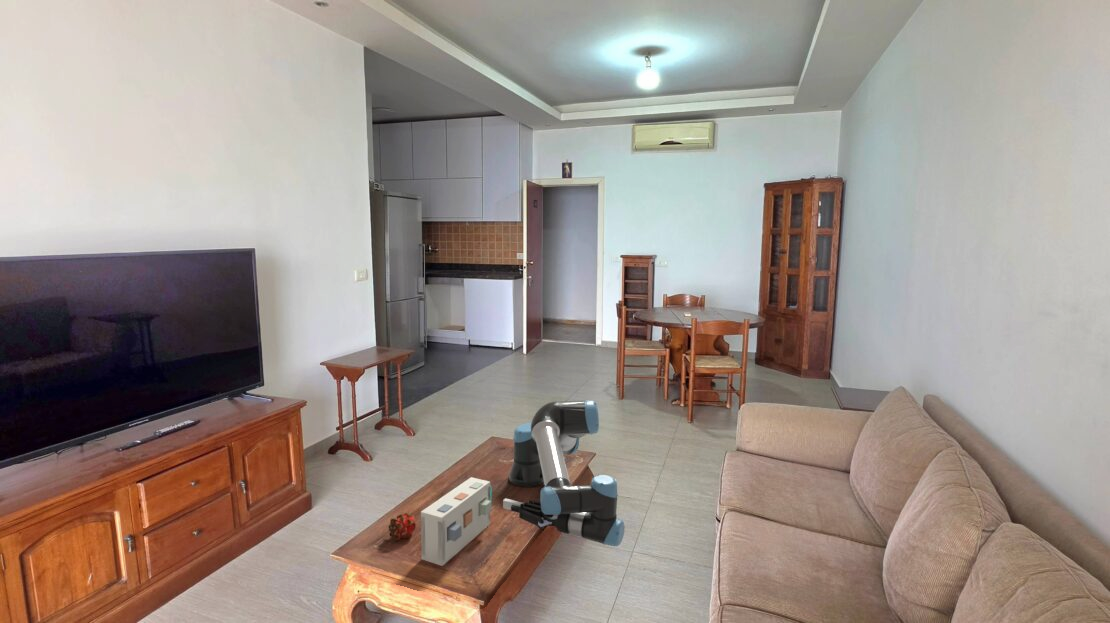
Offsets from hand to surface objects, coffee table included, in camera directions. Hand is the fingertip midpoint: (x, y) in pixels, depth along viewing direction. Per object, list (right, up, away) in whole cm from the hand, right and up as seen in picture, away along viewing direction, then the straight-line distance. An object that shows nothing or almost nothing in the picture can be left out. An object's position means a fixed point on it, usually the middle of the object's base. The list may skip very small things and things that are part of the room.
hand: (504, 503), depth 175 cm
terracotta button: (-15, -9, +9) cm, 19 cm away
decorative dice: (-13, -13, +35) cm, 40 cm away
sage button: (-9, -8, +16) cm, 20 cm away
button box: (-17, -16, +10) cm, 26 cm away
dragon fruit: (-36, -16, +13) cm, 41 cm away
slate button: (-17, -10, 0) cm, 20 cm away
